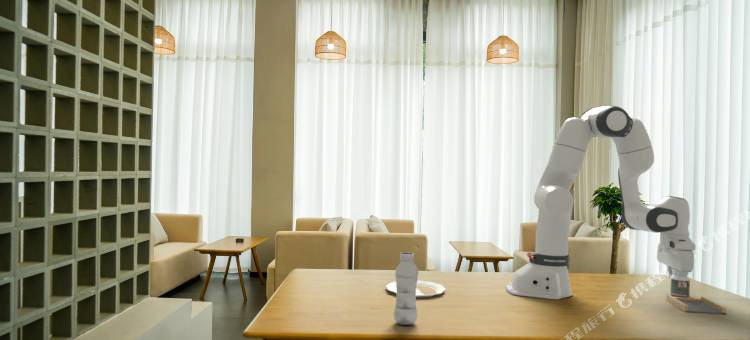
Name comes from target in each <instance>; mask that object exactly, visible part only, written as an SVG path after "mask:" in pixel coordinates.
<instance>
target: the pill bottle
mask: <svg viewBox="0 0 750 340" xmlns="http://www.w3.org/2000/svg"><path fill="white" fill-rule="evenodd" d="M688 275H689V272H681V271H679V270H676V269H673V275H672V276H671V279H670V289H669V290H670V291H669V295H671V296H672V297H684V298H690V285H691V281H690V277H688Z"/></svg>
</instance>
